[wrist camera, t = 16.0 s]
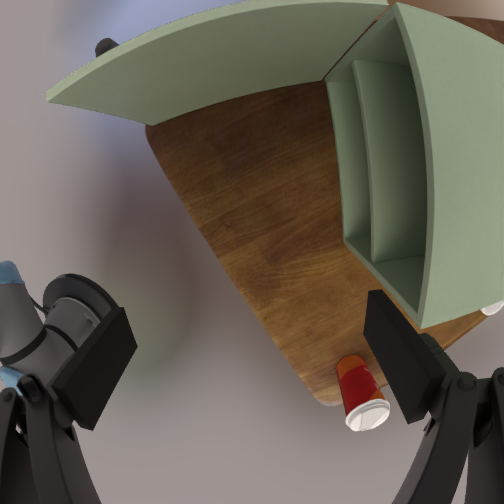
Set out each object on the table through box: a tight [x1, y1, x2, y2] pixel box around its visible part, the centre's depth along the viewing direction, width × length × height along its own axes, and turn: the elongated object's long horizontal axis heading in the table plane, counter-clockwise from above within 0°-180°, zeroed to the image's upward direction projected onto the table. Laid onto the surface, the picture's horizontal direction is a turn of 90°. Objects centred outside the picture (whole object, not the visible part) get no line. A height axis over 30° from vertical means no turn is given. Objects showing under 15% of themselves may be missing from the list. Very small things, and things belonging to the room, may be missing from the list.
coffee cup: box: [336, 355, 390, 431], centre depth 42 cm, size 8×8×15 cm
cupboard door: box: [46, 0, 389, 126], centre depth 22 cm, size 7×26×24 cm, turn 105°
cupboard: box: [325, 2, 504, 329], centre depth 25 cm, size 18×26×24 cm
